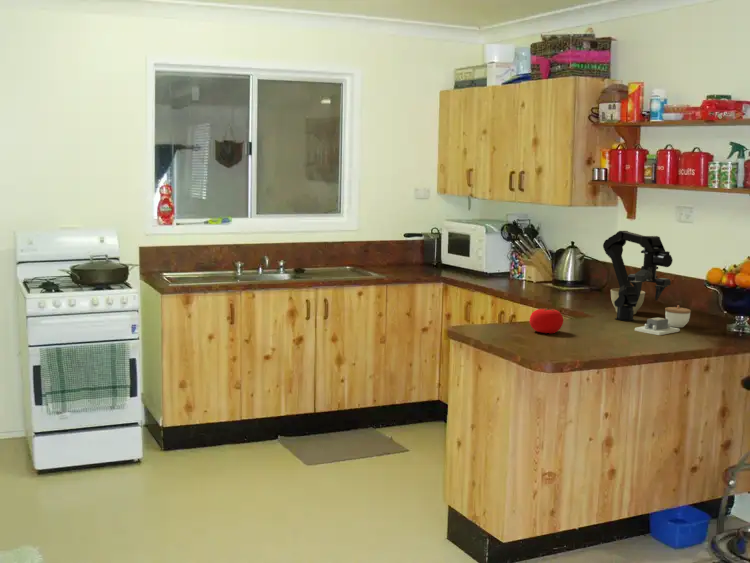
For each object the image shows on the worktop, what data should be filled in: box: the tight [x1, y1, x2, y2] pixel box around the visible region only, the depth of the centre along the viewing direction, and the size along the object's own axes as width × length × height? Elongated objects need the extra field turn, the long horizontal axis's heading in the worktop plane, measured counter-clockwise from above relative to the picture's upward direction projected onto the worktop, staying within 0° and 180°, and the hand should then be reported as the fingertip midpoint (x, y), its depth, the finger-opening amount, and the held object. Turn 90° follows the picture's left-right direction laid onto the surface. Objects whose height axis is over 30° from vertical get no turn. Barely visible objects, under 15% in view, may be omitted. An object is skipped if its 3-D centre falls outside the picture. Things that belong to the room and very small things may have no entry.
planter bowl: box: [610, 287, 646, 315], centre depth 440 cm, size 16×16×11 cm
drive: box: [646, 317, 668, 330], centre depth 395 cm, size 5×8×4 cm, turn 128°
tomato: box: [528, 307, 564, 335], centre depth 383 cm, size 14×13×10 cm
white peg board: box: [634, 323, 681, 336], centre depth 395 cm, size 12×16×3 cm
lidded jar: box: [664, 304, 692, 328], centre depth 409 cm, size 11×11×9 cm
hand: (647, 298), depth 407 cm, fingers open, 9 cm apart
